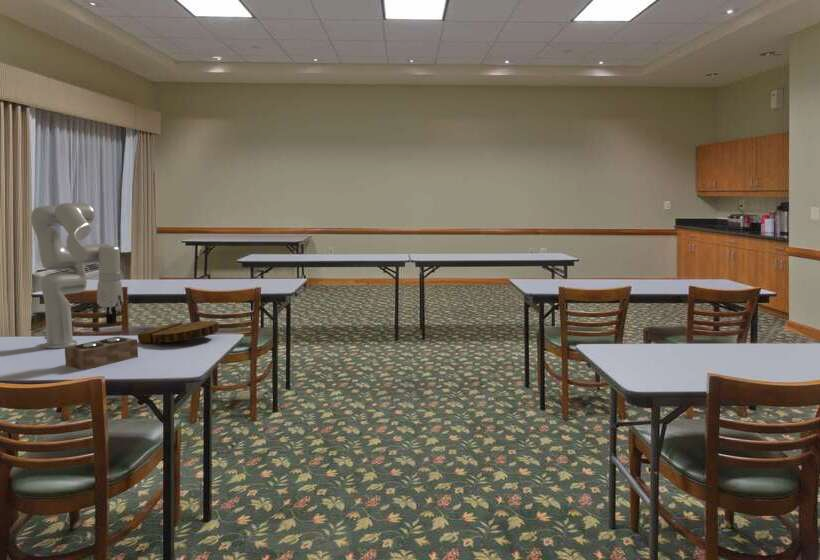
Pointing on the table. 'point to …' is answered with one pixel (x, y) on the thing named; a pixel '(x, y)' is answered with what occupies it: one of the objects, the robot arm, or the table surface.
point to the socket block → (101, 353)
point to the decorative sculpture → (179, 332)
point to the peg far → (113, 339)
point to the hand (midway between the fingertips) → (111, 323)
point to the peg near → (89, 344)
